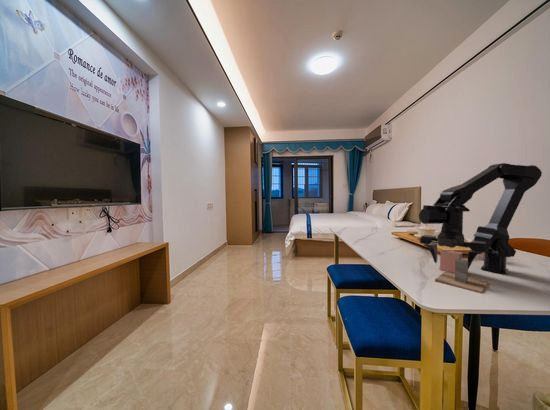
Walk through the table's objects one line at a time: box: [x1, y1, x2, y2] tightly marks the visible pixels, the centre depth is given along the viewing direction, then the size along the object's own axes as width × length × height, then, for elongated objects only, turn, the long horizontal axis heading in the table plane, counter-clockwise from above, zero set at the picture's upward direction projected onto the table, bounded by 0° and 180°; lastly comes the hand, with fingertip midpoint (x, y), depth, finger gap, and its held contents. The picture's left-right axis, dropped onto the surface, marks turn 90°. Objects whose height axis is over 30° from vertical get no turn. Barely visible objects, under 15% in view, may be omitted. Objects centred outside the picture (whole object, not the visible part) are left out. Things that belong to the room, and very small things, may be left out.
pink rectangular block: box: [439, 249, 463, 274], centre depth 78 cm, size 5×5×7 cm
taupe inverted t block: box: [434, 258, 489, 294], centre depth 67 cm, size 11×11×7 cm
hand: (451, 265), depth 78 cm, fingers open, 9 cm apart
